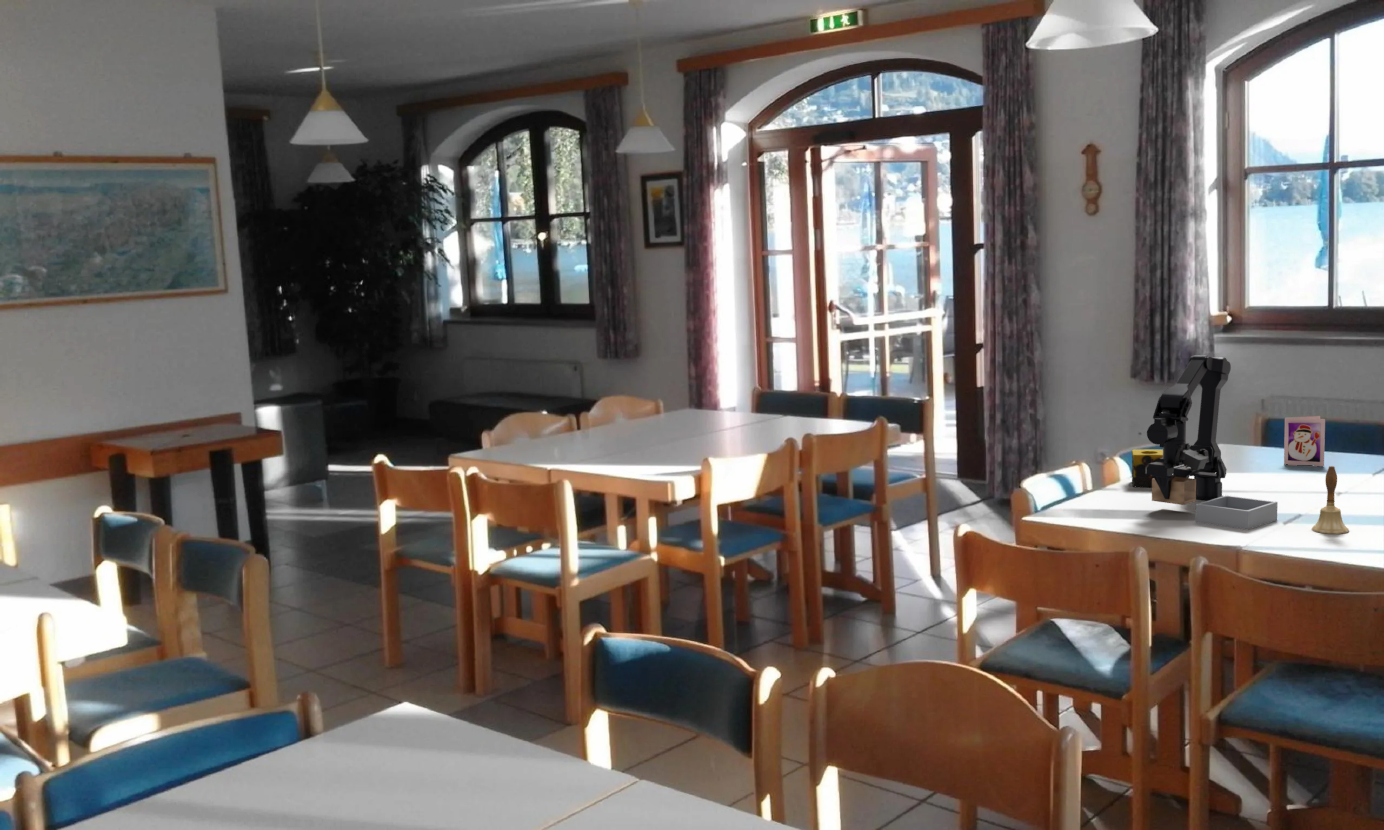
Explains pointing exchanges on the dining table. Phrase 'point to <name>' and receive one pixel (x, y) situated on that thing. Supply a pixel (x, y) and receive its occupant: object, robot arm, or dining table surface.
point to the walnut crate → (1176, 491)
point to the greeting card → (1304, 441)
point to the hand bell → (1330, 509)
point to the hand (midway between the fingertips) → (1173, 497)
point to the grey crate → (1236, 512)
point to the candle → (1144, 466)
